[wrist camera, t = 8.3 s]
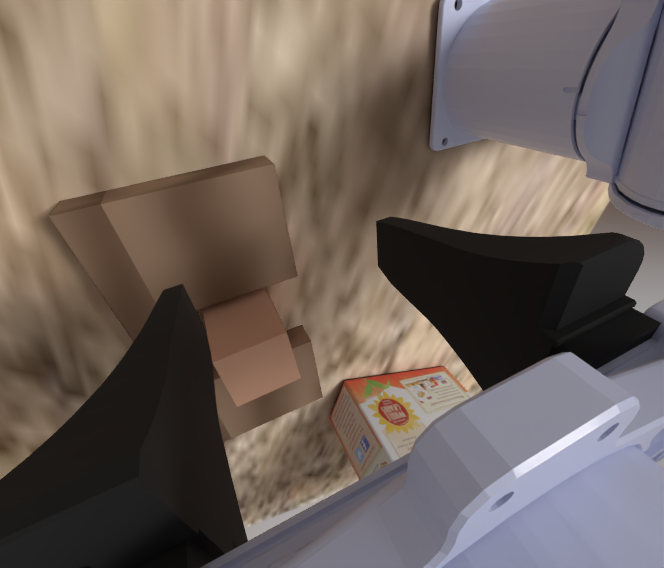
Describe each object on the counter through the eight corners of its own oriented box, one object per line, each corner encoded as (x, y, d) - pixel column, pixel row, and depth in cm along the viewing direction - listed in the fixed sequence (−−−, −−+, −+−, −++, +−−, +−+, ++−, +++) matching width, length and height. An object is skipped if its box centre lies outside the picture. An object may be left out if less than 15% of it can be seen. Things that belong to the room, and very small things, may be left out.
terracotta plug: (259, 277, 22) (286, 332, 17) (274, 319, 24) (301, 378, 20) (200, 298, 21) (212, 362, 16) (221, 340, 23) (236, 407, 19)
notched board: (264, 155, 18) (273, 164, 17) (314, 380, 30) (322, 396, 28) (59, 201, 15) (48, 216, 14) (203, 428, 27) (206, 449, 26)
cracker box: (326, 419, 34) (472, 726, 18) (342, 376, 32) (530, 692, 16) (424, 400, 41) (592, 611, 25) (444, 363, 38) (646, 574, 23)
